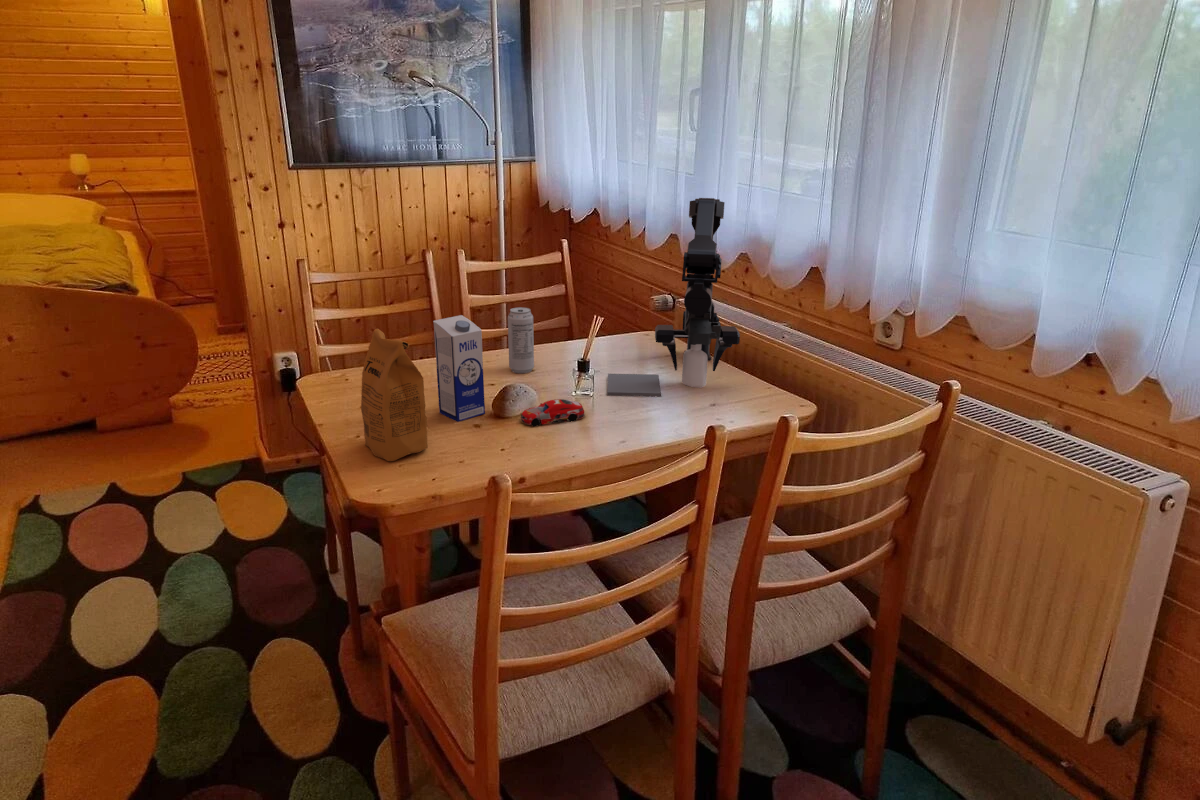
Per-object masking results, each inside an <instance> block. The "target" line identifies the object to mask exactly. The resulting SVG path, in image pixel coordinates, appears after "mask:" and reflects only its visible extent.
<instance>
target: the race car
mask: <svg viewBox="0 0 1200 800" xmlns="http://www.w3.org/2000/svg"><path fill="white" fill-rule="evenodd" d="M584 417H585V410H584V406H583V405H582V403H580V402H579V401H576V400H570V399H564V398H563V399H560V398H559V399H558V398H557V399H551V400H547V401H545V402H542V403H541V402H540V404H539V405H537V406H532V407H529V408H527V409H525V410H523V411H522V412H521V415H520V421H521V423H523V424H525V425H528V426H532V427H540V425H541V426H542V425H549V424H558V423H564V422H565V423H566V422H569V423H570V422H571V421H572V422H577V420H578V421H579V420H581V419H583V418H584Z"/></svg>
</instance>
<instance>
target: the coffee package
mask: <svg viewBox="0 0 1200 800" xmlns="http://www.w3.org/2000/svg"><path fill="white" fill-rule="evenodd" d="M409 348H410V345H409V343H408V342H407V341H405V340H400V339H390V338H389V339H388V338H386V335H385V333H384V332H383V331H382V330H380V329H379V328H375V329H374V330H373V331H372V337H371V340H370V343H369V345H368V349H367V353H366V356H365V358H364V361H363V362H364V364H363V369H362V372H361V375H362V376H361V391H360V392H361V394H360V395H361V397H360V398H361V400H360V402H361V403H360V410H361V411H360V413H361V415H362V416H361V417H362V422H363V435H364V440H365V441H364V443H365V446H366V447H368V448H369V449H370V450H371V452H372V453H373V455H374V456H375V455H376V456H375V457H377V456H378V458H380V457H381V458H380V459H383V460H385V461H388V462H395V461H397V460H399V459H402V458H403V457H405V456H407V455H410V454H415V453H420V452H422V451H424V450H425V449H428V447H429V445H428V416H427V415H426V400H425V399H426V398H425V383H424V377H423V375H422V373H421V371H420V370H419V369H418V367H417V366H416V365H415V363H414V362H413V360H411V358H410V357H409V355H408V353H407V352H406V350H407V349H409Z"/></svg>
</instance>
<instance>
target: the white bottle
mask: <svg viewBox="0 0 1200 800" xmlns="http://www.w3.org/2000/svg"><path fill="white" fill-rule="evenodd" d="M701 345H702V344H696V345H691V349H690V350H687V349H686V350H687V351H685V350H684V351H685V352H683V357H682V370H681V371H682V373H681V383H682V384H683V385H685V386H687V387H691V388H699V389H701V388H704V387H705V386H706V385H707V377H708V375H707V374H708V361H709V360H708V356H707V354H706V353H705V352H703V351H702V350H701Z"/></svg>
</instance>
